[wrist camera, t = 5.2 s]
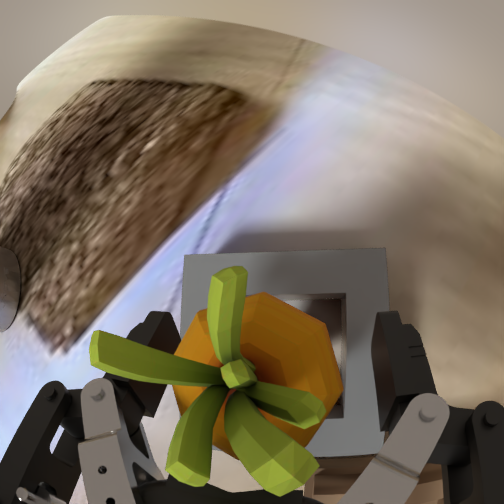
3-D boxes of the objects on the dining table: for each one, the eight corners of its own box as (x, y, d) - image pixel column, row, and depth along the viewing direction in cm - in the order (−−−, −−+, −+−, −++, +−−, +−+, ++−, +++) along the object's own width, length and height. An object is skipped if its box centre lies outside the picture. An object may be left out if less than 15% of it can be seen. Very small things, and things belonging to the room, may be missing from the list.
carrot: (230, 346, 18) (13, 359, 4) (293, 296, 18) (214, 165, 4) (279, 408, 17) (170, 584, 2) (345, 358, 17) (455, 455, 2)
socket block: (199, 430, 17) (180, 444, 14) (202, 266, 20) (184, 254, 17) (372, 435, 15) (382, 452, 12) (374, 260, 18) (385, 247, 15)
